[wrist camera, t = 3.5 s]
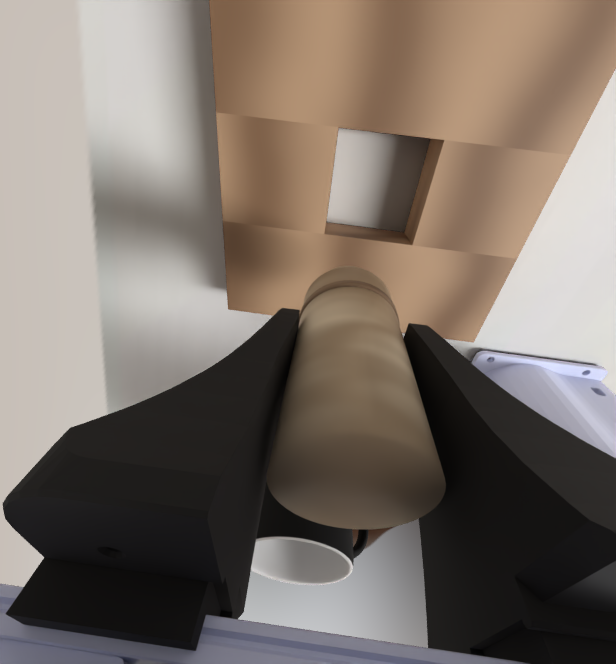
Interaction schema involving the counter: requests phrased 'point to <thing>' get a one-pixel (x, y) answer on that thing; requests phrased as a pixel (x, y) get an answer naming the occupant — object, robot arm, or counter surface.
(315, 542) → the mug
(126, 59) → the counter surface
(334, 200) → the counter surface
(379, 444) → the peg
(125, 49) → the counter surface
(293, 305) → the board
